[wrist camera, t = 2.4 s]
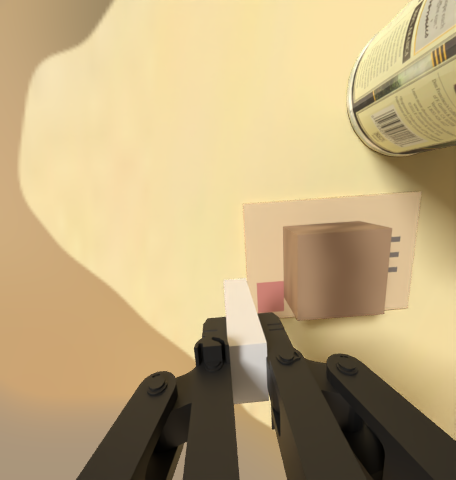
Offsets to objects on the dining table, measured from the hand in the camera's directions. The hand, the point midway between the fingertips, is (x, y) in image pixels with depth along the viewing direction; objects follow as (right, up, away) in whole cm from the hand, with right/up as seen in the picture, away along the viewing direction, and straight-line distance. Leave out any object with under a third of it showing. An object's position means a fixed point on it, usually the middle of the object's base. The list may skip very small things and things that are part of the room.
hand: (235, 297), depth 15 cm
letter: (+9, +2, +6) cm, 11 cm away
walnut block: (+8, +2, +6) cm, 10 cm away
